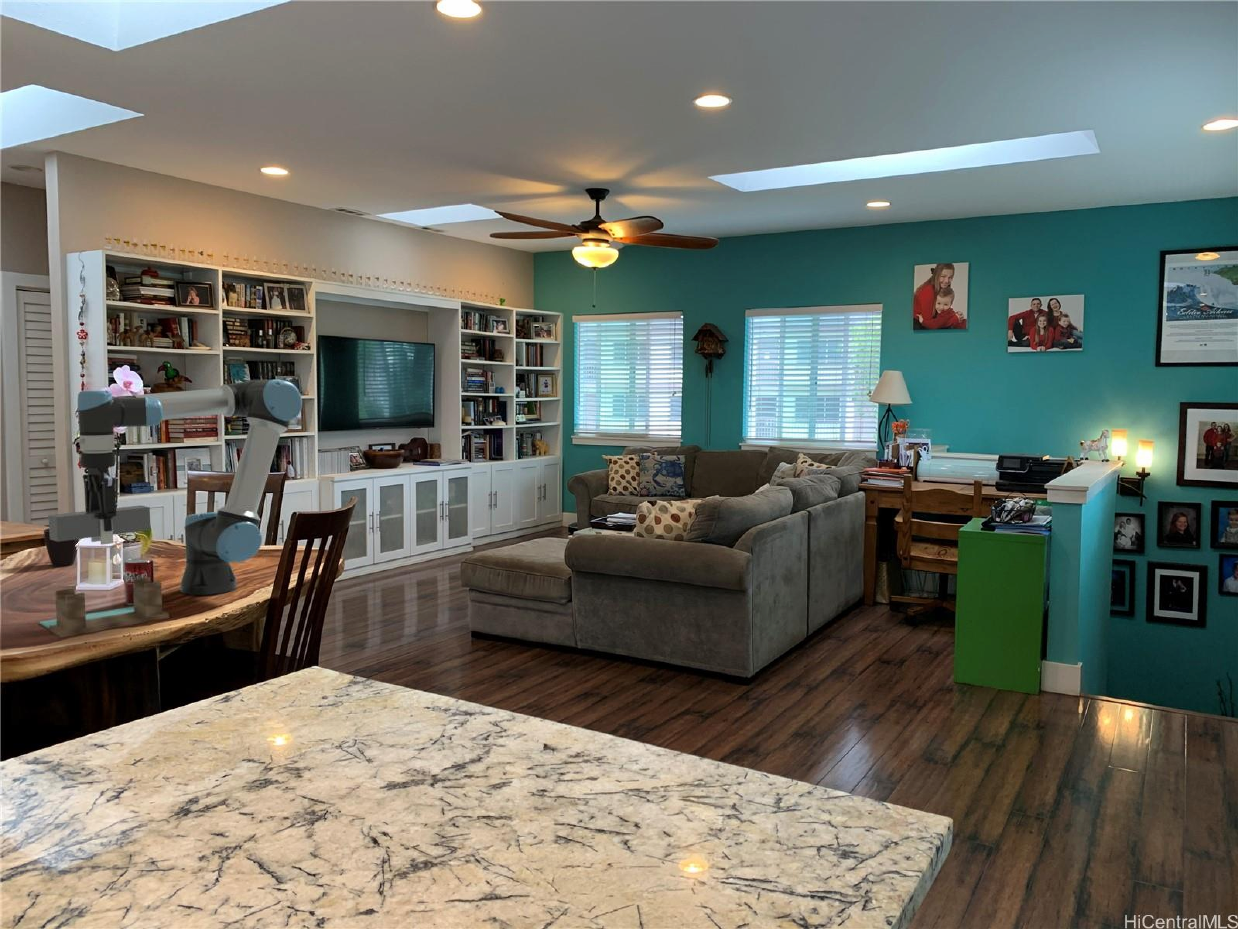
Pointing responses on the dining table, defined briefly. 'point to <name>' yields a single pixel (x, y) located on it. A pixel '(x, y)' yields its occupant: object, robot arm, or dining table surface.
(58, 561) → the cup
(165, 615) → the stand
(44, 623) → the mat
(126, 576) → the soda can
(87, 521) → the rail
